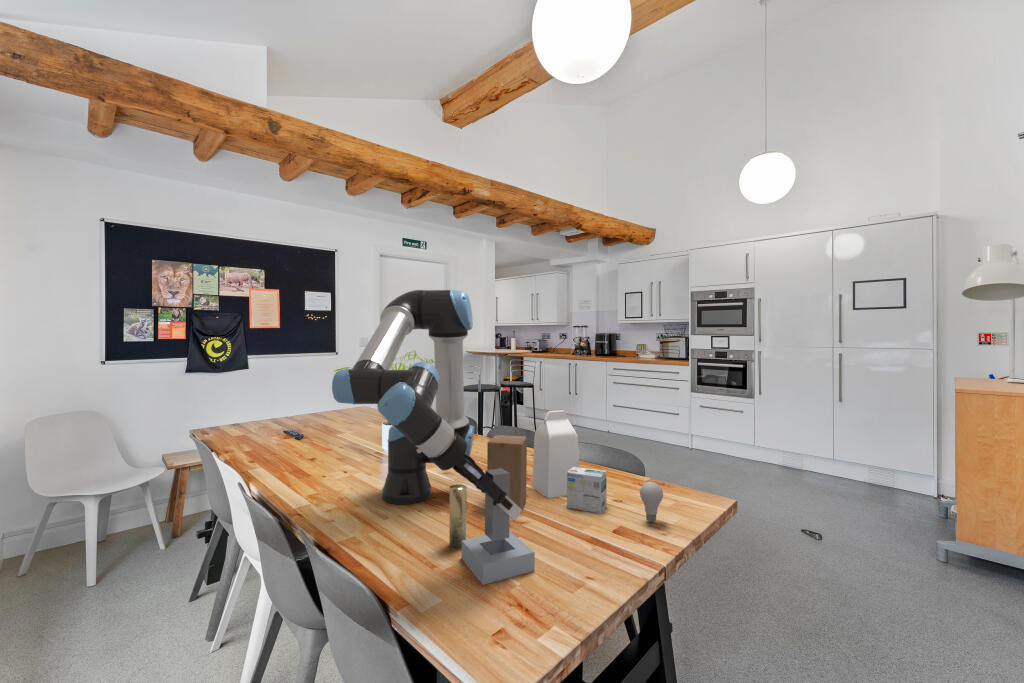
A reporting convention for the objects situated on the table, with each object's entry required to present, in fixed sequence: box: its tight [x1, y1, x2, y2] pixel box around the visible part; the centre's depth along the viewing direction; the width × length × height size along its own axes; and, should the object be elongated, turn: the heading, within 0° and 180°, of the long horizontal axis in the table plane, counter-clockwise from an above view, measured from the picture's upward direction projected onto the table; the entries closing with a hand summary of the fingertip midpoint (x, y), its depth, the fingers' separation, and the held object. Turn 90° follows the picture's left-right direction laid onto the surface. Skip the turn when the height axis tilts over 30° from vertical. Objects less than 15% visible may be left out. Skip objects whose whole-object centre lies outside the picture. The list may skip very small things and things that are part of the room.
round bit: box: [448, 484, 468, 550], centre depth 105 cm, size 4×4×14 cm
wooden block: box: [486, 434, 528, 510], centre depth 130 cm, size 10×10×20 cm
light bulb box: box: [566, 467, 608, 514], centre depth 129 cm, size 11×7×11 cm, turn 65°
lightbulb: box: [639, 481, 664, 524], centre depth 119 cm, size 6×6×11 cm
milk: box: [531, 410, 580, 499], centre depth 144 cm, size 12×12×26 cm
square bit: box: [484, 468, 510, 541], centre depth 95 cm, size 4×4×14 cm
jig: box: [461, 530, 536, 586], centre depth 96 cm, size 12×12×4 cm
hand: (512, 511), depth 97 cm, fingers closed on square bit, 4 cm apart
